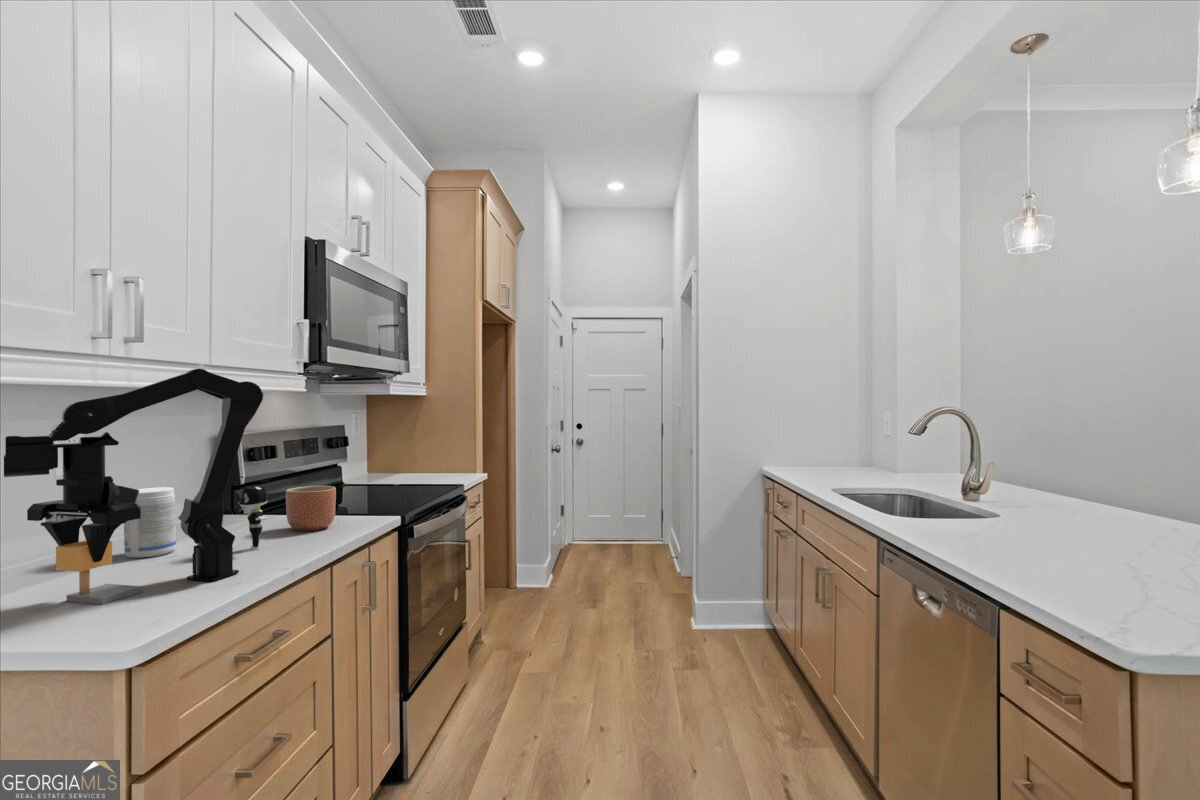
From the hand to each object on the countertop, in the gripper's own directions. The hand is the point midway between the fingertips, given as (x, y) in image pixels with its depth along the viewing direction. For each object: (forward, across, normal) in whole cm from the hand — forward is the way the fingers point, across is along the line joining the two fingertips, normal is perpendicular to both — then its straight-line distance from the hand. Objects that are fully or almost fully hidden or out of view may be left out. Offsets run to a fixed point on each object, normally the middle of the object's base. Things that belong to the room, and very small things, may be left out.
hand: (84, 560), depth 108 cm
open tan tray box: (+1, 0, 0) cm, 1 cm away
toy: (+7, 0, -37) cm, 38 cm away
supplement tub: (+7, +20, -28) cm, 35 cm away
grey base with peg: (+7, -2, -2) cm, 7 cm away
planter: (+7, +2, -60) cm, 61 cm away
